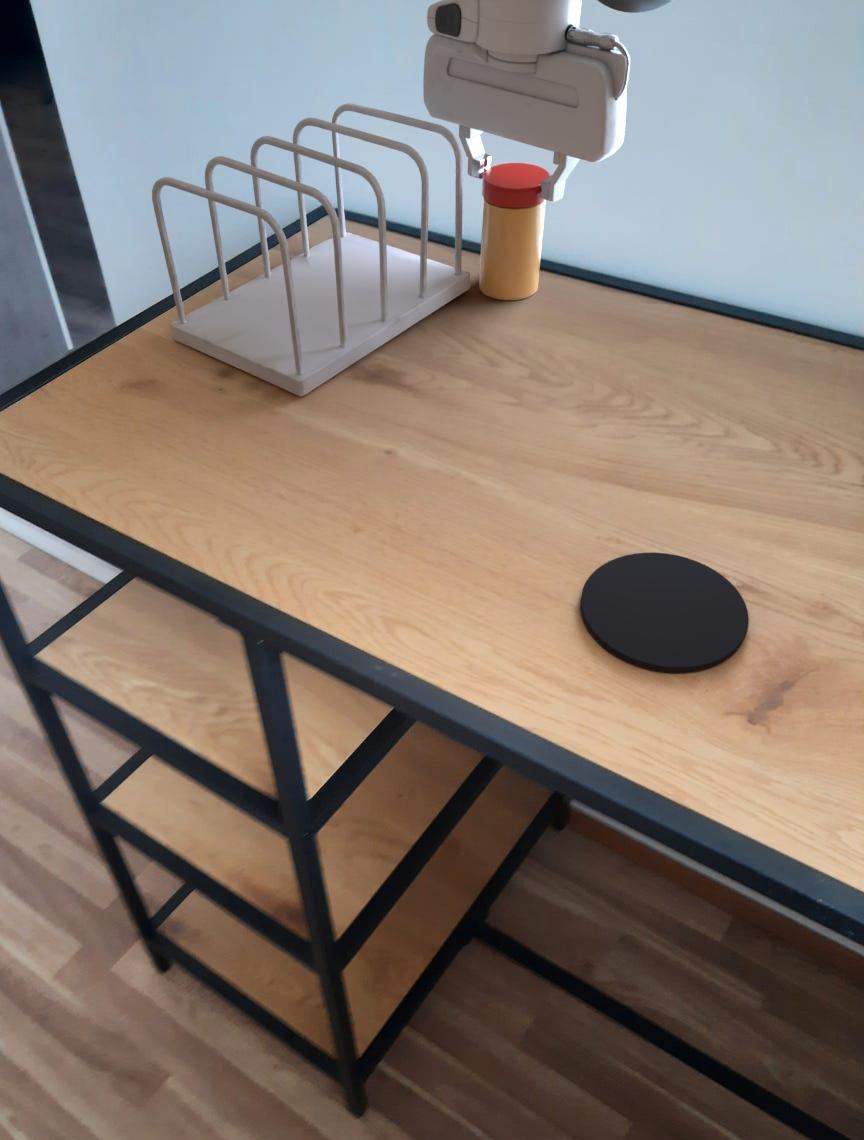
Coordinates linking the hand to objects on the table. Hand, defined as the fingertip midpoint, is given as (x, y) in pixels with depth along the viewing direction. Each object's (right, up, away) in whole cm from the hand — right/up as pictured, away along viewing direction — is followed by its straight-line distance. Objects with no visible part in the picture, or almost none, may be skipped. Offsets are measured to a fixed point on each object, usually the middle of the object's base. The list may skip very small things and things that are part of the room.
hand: (514, 187), depth 89 cm
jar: (0, -7, +7) cm, 10 cm away
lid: (0, +1, -1) cm, 1 cm away
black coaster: (+6, -41, -25) cm, 49 cm away
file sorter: (-18, -11, +4) cm, 22 cm away
